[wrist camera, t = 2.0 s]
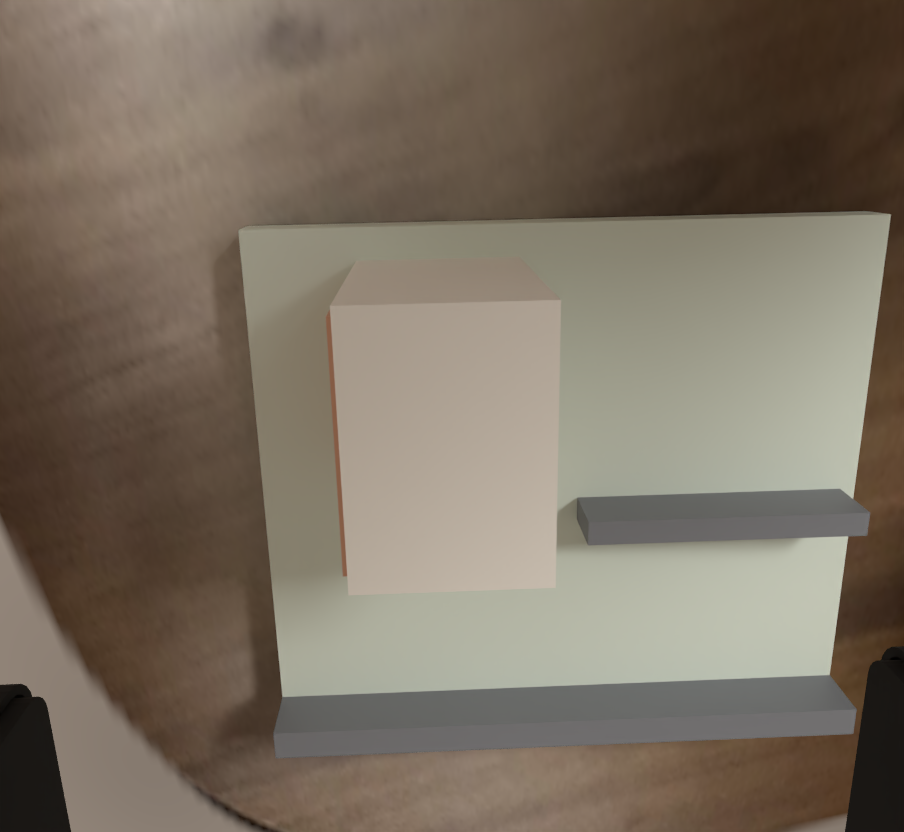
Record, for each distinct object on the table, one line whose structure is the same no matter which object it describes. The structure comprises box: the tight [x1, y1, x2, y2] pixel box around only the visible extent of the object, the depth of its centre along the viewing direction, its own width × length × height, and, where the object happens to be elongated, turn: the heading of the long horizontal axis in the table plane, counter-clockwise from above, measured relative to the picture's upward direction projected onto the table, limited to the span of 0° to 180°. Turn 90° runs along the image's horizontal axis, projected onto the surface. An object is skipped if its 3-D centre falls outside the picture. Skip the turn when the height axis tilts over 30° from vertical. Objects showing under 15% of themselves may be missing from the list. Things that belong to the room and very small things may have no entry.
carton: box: [326, 256, 561, 595], centre depth 23 cm, size 5×7×8 cm
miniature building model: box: [238, 211, 891, 758], centre depth 28 cm, size 20×18×4 cm
